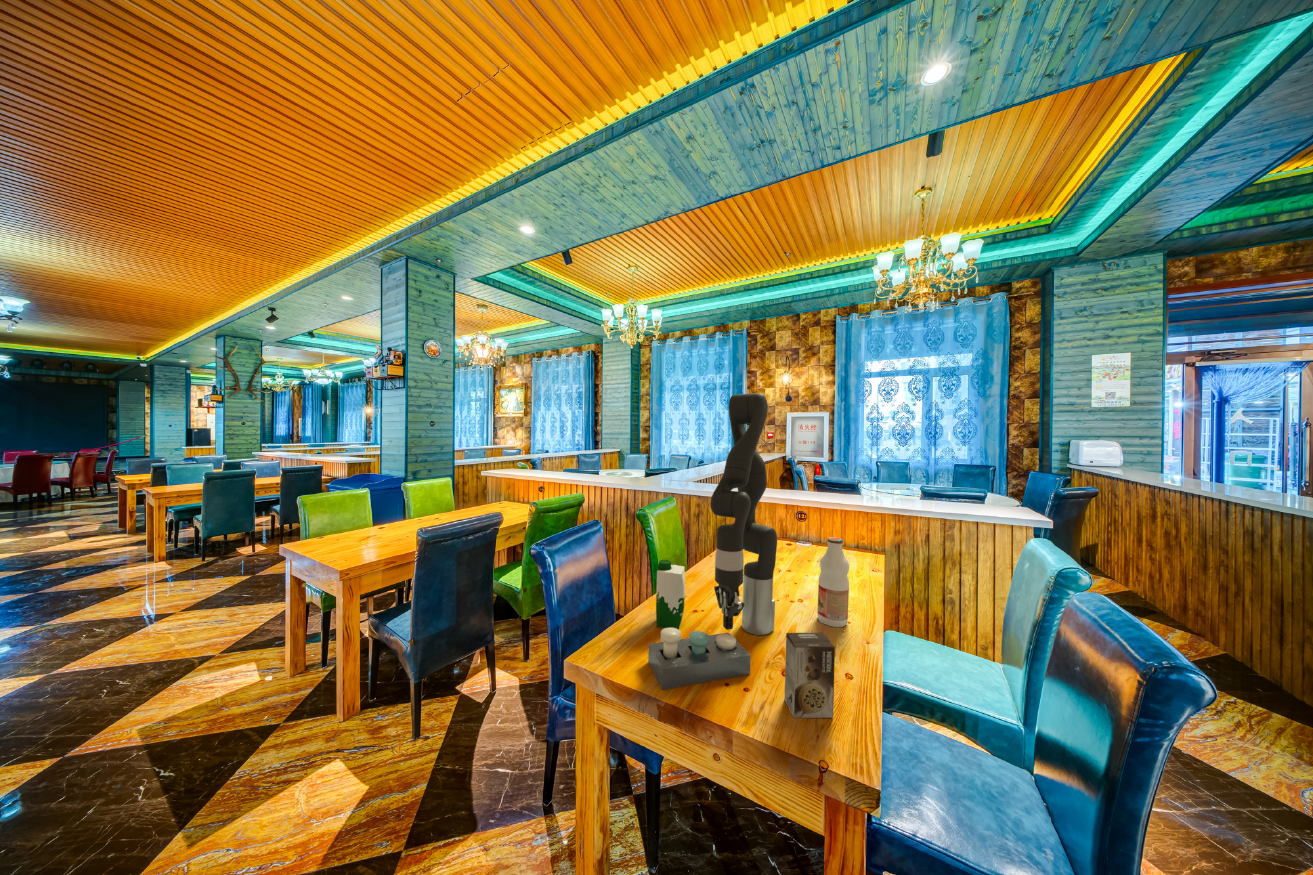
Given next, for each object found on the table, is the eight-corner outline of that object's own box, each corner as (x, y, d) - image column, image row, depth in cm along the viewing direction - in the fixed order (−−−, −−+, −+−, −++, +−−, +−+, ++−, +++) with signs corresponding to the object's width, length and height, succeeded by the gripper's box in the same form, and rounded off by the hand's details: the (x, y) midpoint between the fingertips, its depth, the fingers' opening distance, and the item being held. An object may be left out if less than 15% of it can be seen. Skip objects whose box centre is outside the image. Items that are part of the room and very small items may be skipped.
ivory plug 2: (729, 654, 112) (730, 632, 112) (738, 664, 107) (739, 642, 107) (712, 656, 110) (713, 635, 110) (721, 667, 105) (721, 645, 105)
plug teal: (703, 651, 109) (703, 630, 109) (711, 662, 104) (712, 639, 104) (685, 654, 108) (686, 632, 108) (693, 665, 103) (693, 642, 103)
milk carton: (658, 615, 135) (660, 556, 135) (685, 619, 134) (687, 559, 133) (653, 628, 127) (655, 565, 127) (681, 631, 125) (683, 568, 125)
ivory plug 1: (676, 648, 107) (676, 626, 107) (683, 659, 102) (684, 636, 102) (657, 651, 105) (658, 628, 105) (663, 662, 100) (664, 638, 100)
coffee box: (821, 699, 95) (823, 631, 95) (834, 718, 89) (836, 646, 88) (783, 699, 95) (785, 631, 95) (793, 718, 88) (795, 646, 88)
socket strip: (727, 649, 116) (728, 632, 115) (749, 674, 104) (750, 655, 104) (648, 662, 108) (648, 643, 108) (662, 689, 97) (663, 669, 97)
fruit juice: (839, 630, 129) (842, 544, 128) (811, 619, 136) (814, 537, 136) (852, 622, 135) (856, 539, 134) (825, 612, 142) (828, 533, 142)
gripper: (754, 571, 103) (753, 638, 103) (729, 555, 115) (728, 615, 116) (728, 574, 101) (727, 643, 101) (705, 558, 113) (704, 618, 114)
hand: (727, 627), depth 109 cm, fingers closed
